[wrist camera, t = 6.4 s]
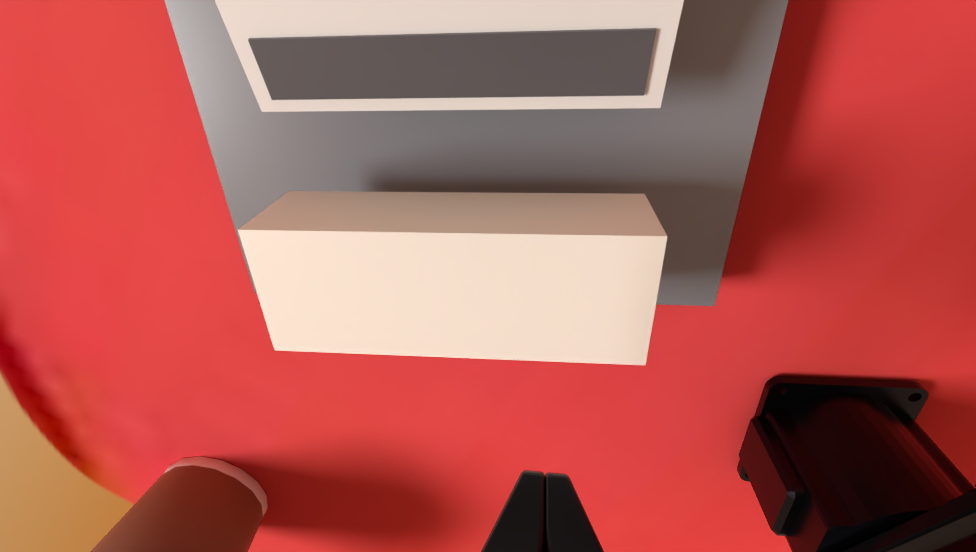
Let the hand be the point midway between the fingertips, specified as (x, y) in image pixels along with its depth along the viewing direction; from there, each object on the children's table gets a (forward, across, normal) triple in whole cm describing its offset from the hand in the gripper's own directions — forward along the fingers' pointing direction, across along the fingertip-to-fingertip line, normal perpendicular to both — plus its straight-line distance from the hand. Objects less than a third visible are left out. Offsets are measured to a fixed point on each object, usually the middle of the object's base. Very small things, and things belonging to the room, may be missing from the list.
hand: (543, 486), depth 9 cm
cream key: (+8, +3, -1) cm, 8 cm away
